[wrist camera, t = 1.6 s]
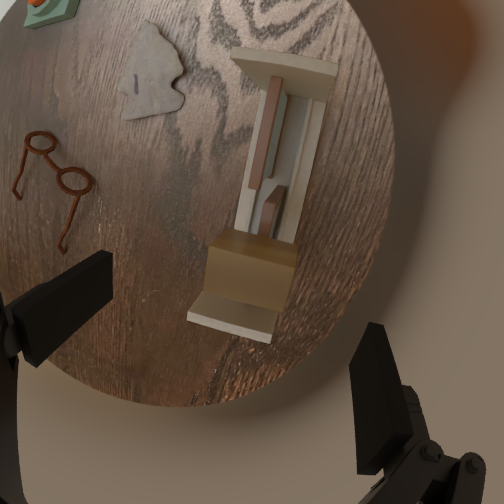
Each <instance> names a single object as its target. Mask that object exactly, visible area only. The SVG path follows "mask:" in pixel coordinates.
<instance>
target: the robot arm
mask: <svg viewBox="0 0 504 504" xmlns="http://www.w3.org/2000/svg"><path fill="white" fill-rule="evenodd" d="M112 265H113V253H110V252H107V251H104V250H100V251H98V252H96V253H95V254H93V255H91V256H90V257H88V258H86V259H85V260H83V261H81V262H80V263H78V264H76V265H75V266H73V267H72V268H70V269H68V270H67V271H65V272H64V273H62V274H60V275H59V276H57V277H56V278H54V279H52V280H51V281H49V282H46V283H42V284H39V285H37V286H35V287H34V288H32V289H31V290H30V291H27V292H26V293H24V295H21V296H20V297H18V298H17V299H15V300H14V301H12V302H11V303H9V304H8V305H7V306H5V307H4V305H3V300H2V295H1V292H0V504H28V503H27V501H26V499H25V497H24V494H23V488H22V481H21V474H20V465H19V454H18V440H17V379H18V364H19V359H18V355H17V354H18V353H19V352H20V351H21V350H22V352H23V356H24V359H25V361H27V362H28V363H30V364H31V365H33V366H34V367H36V368H37V367H38V366H39V365H40V364H41V363H42V362H43V361H44V360H46V359H47V358H48V357H49V356H50V355H51V354H52V353H53V352H54V351H55V350H56V349H57V348H58V347H59V346H60V345H62V344H63V343H64V342H65V341H66V340H67V339H68V338H69V337H70V336H71V335H72V334H73V333H75V332H76V331H77V330H78V329H79V328H80V327H81V326H82V325H83V324H85V323H86V322H87V321H88V320H89V319H90V318H91V317H92V316H93V315H95V314H96V313H97V312H98V311H99V310H100V309H101V308H103V307H104V306H105V305H106V304H107V303H108V302H109V301H111V300H112V299H113V272H112ZM349 371H350V380H351V390H352V399H353V412H354V425H355V438H356V458H357V474H360V475H376V474H377V473H378V472H379V471H380V470H381V469H382V468H383V470H384V477H382V478H381V479H380V480H379V481H378V482H377V483H376V484H375V485H374V486H373V487H371V490H370V492H368V494H367V495H366V496H365V497H364V498H363V499H362V500H361V501H360V502H359V503H358V504H417V503H418V504H481V502H482V496H483V489H484V482H485V474H486V465H485V462H484V460H483V459H482V458H481V457H480V456H479V455H478V454H476V453H472V452H469V453H466V454H464V455H463V456H462V457H461V458H460V459H457V458H453V457H450V456H446V455H444V453H443V450H442V448H441V446H439V445H438V444H437V443H436V442H434V441H432V440H430V437H429V433H428V430H427V426H426V422H425V419H424V415H423V414H422V408H421V406H420V402H419V399H418V395H417V394H416V392H415V391H414V390H413V388H412V387H411V386H405V385H402V384H401V380H400V377H399V374H398V370H397V367H396V363H395V360H394V357H393V353H392V350H391V347H390V344H389V341H388V338H387V335H386V332H385V329H384V325H381V324H376V323H372V322H369V323H368V326H367V328H366V330H365V332H364V335H363V337H362V339H361V341H360V343H359V345H358V347H357V350H356V352H355V354H354V356H353V358H352V360H351V362H350V364H349ZM418 501H419V502H418Z"/></svg>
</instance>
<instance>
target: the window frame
mask: <svg viewBox="0 0 504 504" xmlns="http://www.w3.org/2000/svg"><path fill="white" fill-rule="evenodd" d="M230 58H231V59H232V60H233V61H234V62H235V63H236V64H237V65H238V66H239V67H240V68H241V69H242V70H243V71H244V72H245V73H246V74H247V75H248V76H249V77H250V78H251V79H252V80H253V81H254V82H255V84H256V85H257V86H258V87H259V88H260V89H261V95H260V100H259V104H258V109H257V114H256V119H255V124H254V128H253V133H252V138H251V143H250V148H249V153H248V158H247V163H246V168H245V173H244V178H243V183H242V188H241V194H240V199H239V204H238V209H237V215H236V220H235V225H234V229H236V230H240V231H244V232H248V233H252V234H256V235H257V232H258V228H259V223H260V218H261V214H262V209H263V204H264V201H265V200H266V199H267V198H268V196H269V195H270V194H271V193H272V191H273V190H274V189H275V188H276V186H277V185H283V186H286V189H285V194H284V198H283V202H282V207H281V211H280V215H279V220H278V224H277V228H276V233H275V237H274V239H276V240H280V241H284V242H288V243H292V244H293V243H294V239H295V235H296V231H297V227H298V223H299V219H300V215H301V211H302V207H303V203H304V199H305V195H306V190H307V186H308V182H309V178H310V174H311V169H312V165H313V161H314V156H315V152H316V148H317V143H318V139H319V134H320V130H321V125H322V121H323V116H324V111H325V107H326V102H327V100H328V97H329V95H330V92H331V90H332V87H333V84H334V82H335V79H336V77H337V72H338V67H339V64H336V63H332V62H328V61H323V60H319V59H314V58H310V57H305V56H300V55H294V54H289V53H283V52H277V51H270V50H263V49H256V48H248V47H238V46H233V47H232V51H231V55H230ZM276 317H277V311H274V310H270V309H266V308H262V307H258V306H254V305H251V304H247V303H243V302H240V301H236V300H232V299H229V298H225V297H221V296H218V295H214V294H211V293H207V292H204V291H202V292H201V294H200V295H199V296H198V298H197V299H196V301H195V302H194V303H193V305H192V306H191V308H190V309H189V310H188V314H187V320H188V321H191V322H195V323H198V324H201V325H204V326H208V327H211V328H215V329H218V330H221V331H225V332H228V333H232V334H235V335H239V336H243V337H246V338H250V339H254V340H257V341H261V342H265V343H270V341H271V338H272V334H273V330H274V326H275V321H276Z"/></svg>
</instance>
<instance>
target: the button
mask: <svg viewBox="0 0 504 504" xmlns="http://www.w3.org/2000/svg"><path fill="white" fill-rule="evenodd" d="M45 1H46V0H28V3H29V4H31V5H35V6H40V5H42V4H43V3H44V2H45Z"/></svg>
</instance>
